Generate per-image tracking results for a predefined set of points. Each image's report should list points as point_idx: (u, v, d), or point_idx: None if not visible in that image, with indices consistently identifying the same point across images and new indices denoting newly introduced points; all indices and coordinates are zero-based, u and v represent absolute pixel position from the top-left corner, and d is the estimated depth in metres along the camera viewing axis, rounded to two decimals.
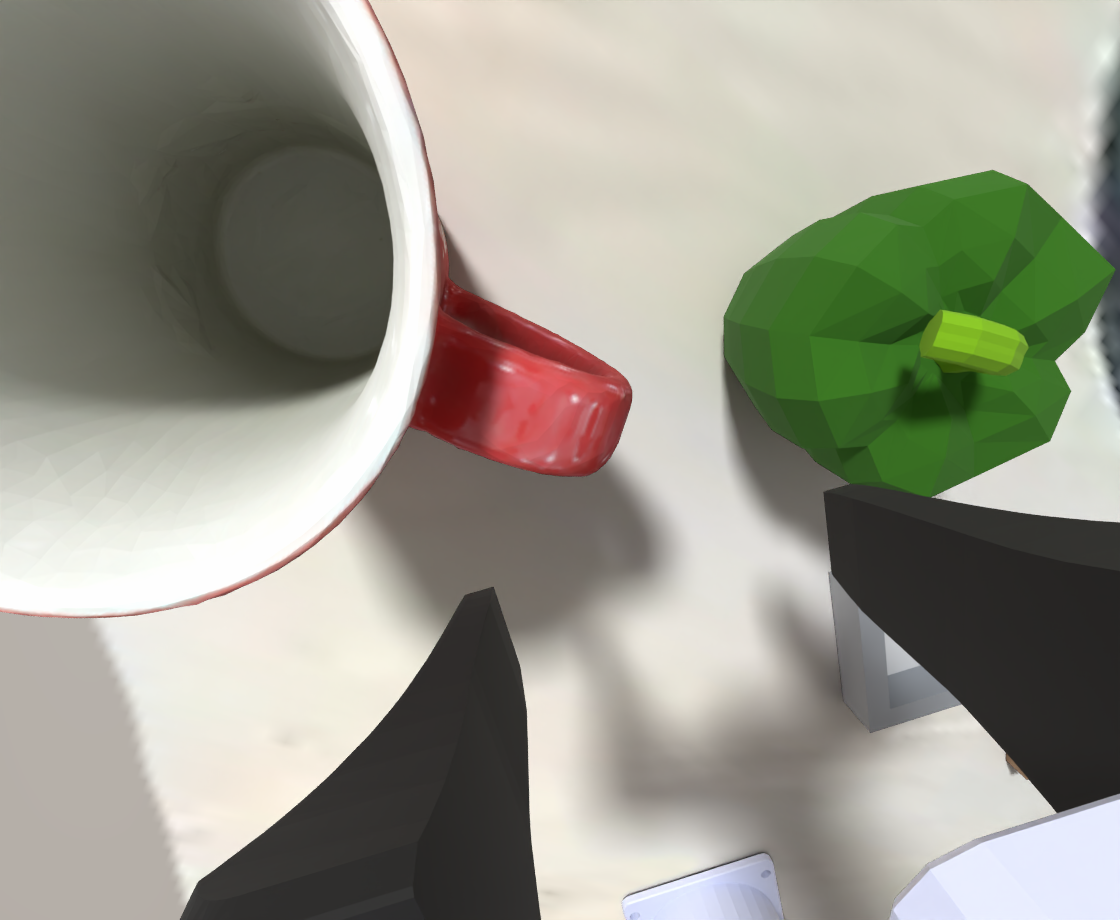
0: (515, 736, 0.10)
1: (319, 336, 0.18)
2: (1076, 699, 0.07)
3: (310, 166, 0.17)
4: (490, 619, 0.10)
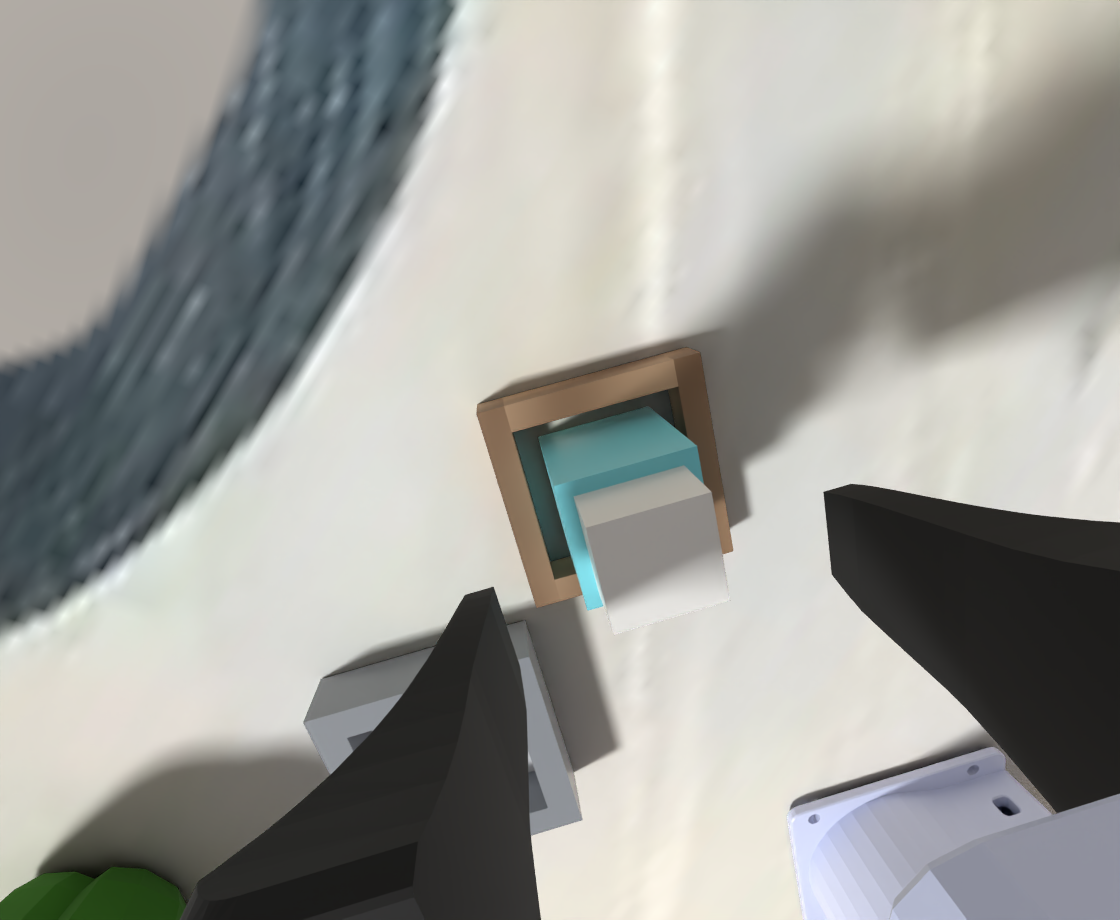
0: (515, 736, 0.10)
1: None
2: (1076, 699, 0.07)
3: None
4: (490, 619, 0.10)
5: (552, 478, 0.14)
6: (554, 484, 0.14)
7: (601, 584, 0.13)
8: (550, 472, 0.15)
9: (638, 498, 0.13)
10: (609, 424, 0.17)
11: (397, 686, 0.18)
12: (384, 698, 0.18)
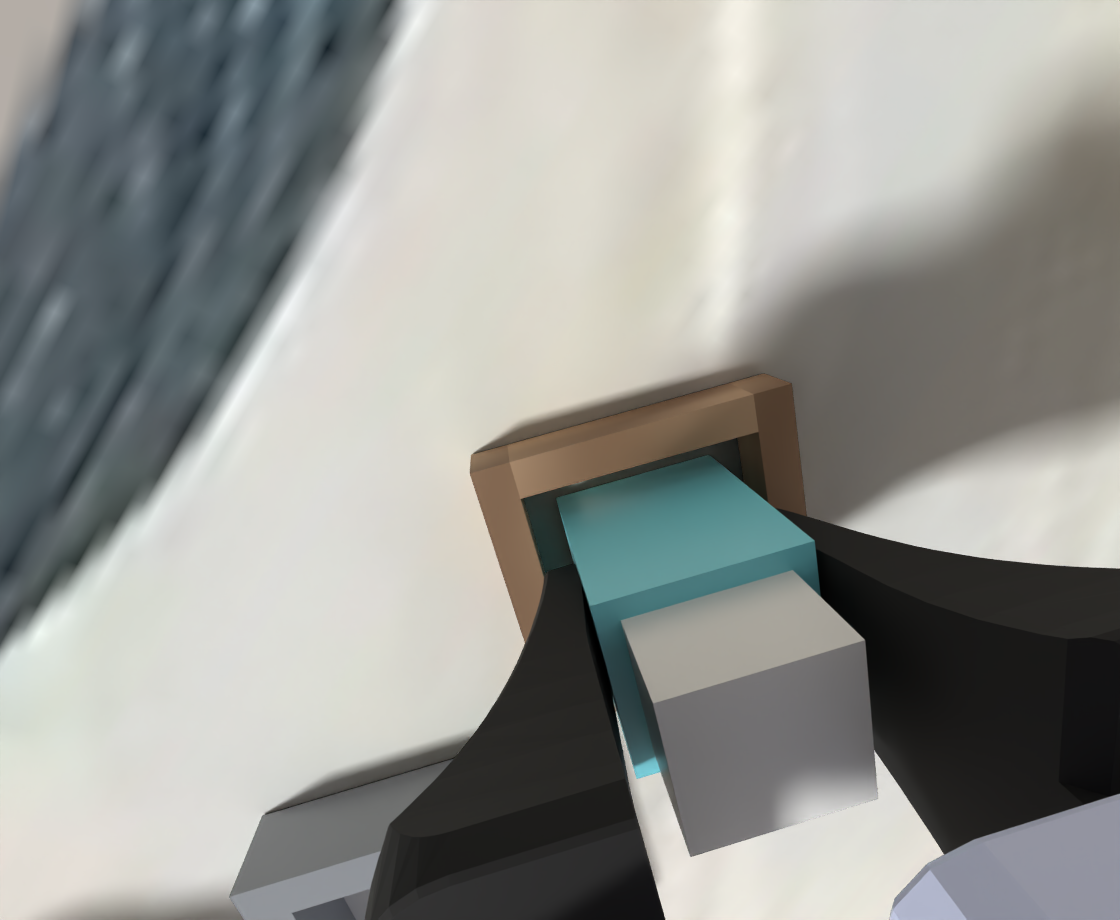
0: (611, 707, 0.10)
1: None
2: (946, 739, 0.07)
3: None
4: (583, 592, 0.10)
5: (586, 587, 0.09)
6: (591, 602, 0.09)
7: (674, 785, 0.08)
8: (581, 573, 0.10)
9: (733, 639, 0.08)
10: (657, 485, 0.12)
11: (361, 840, 0.13)
12: (342, 861, 0.13)
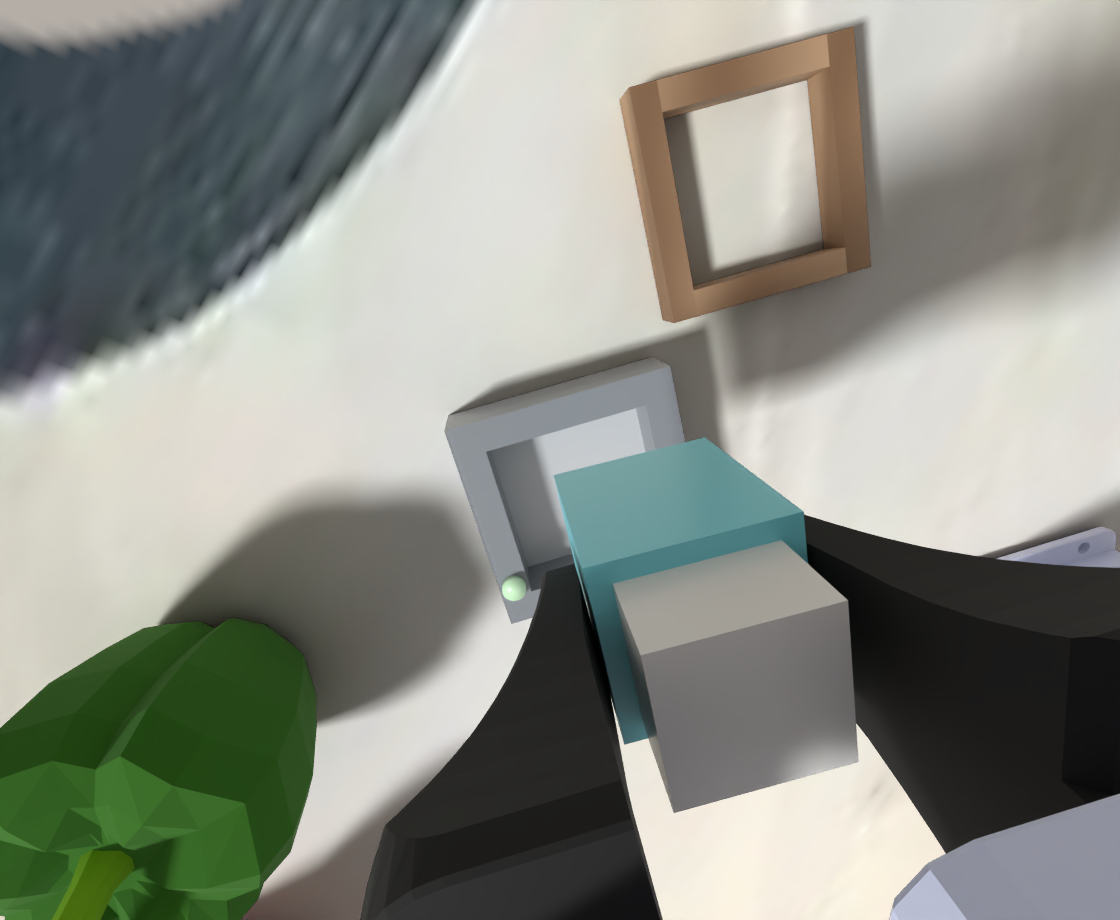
0: (609, 708, 0.10)
1: None
2: (948, 739, 0.07)
3: None
4: (581, 593, 0.10)
5: (580, 552, 0.09)
6: (584, 564, 0.09)
7: (660, 740, 0.08)
8: (576, 540, 0.10)
9: (721, 600, 0.08)
10: (654, 463, 0.12)
11: (535, 401, 0.18)
12: (525, 407, 0.18)
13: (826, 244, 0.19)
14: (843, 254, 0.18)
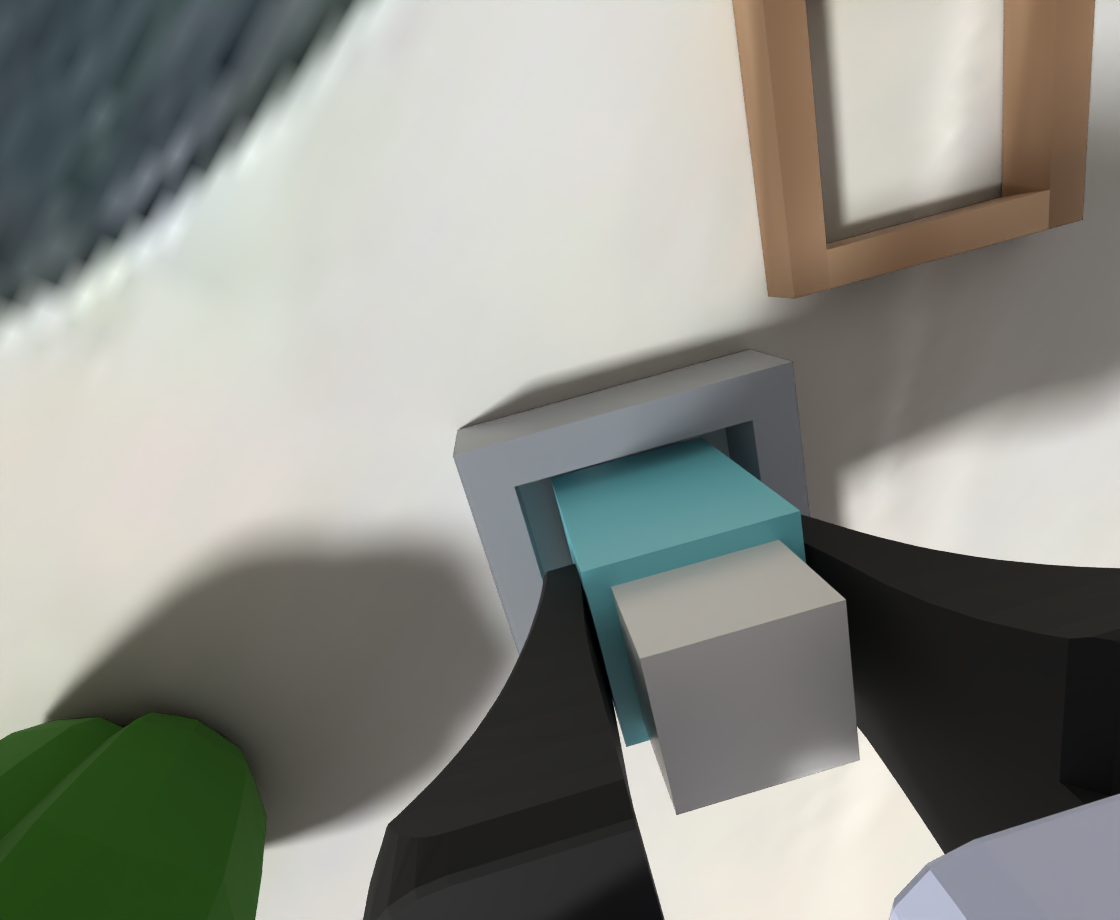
0: (610, 708, 0.10)
1: None
2: (946, 739, 0.07)
3: None
4: (582, 592, 0.10)
5: (577, 556, 0.09)
6: (582, 568, 0.09)
7: (661, 742, 0.08)
8: (573, 543, 0.10)
9: (719, 601, 0.08)
10: (650, 465, 0.12)
11: (588, 412, 0.12)
12: (575, 421, 0.12)
13: (1008, 189, 0.13)
14: (1046, 200, 0.12)
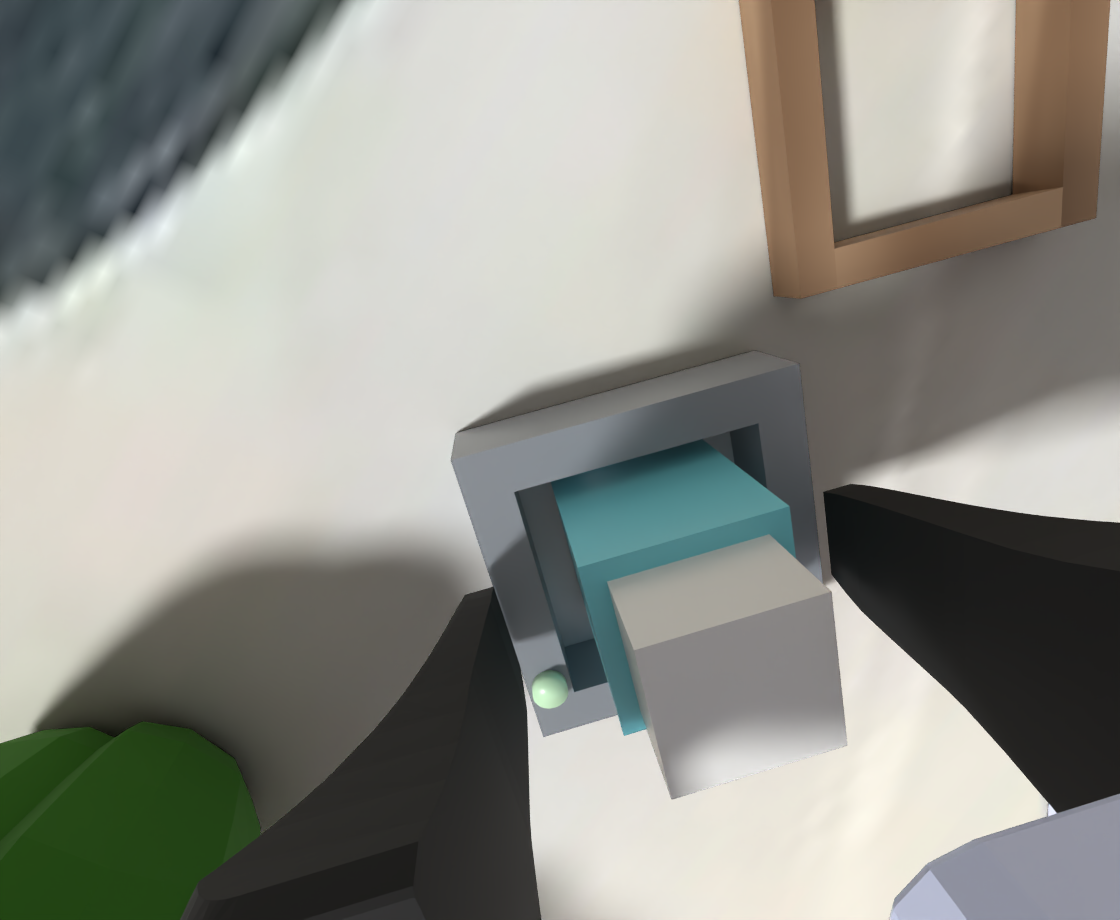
0: (515, 736, 0.10)
1: None
2: (1075, 699, 0.07)
3: None
4: (490, 619, 0.10)
5: (574, 552, 0.10)
6: (578, 564, 0.09)
7: (655, 730, 0.08)
8: (571, 540, 0.10)
9: (710, 594, 0.08)
10: (645, 461, 0.13)
11: (590, 415, 0.12)
12: (576, 425, 0.11)
13: (1019, 186, 0.13)
14: (1059, 198, 0.12)
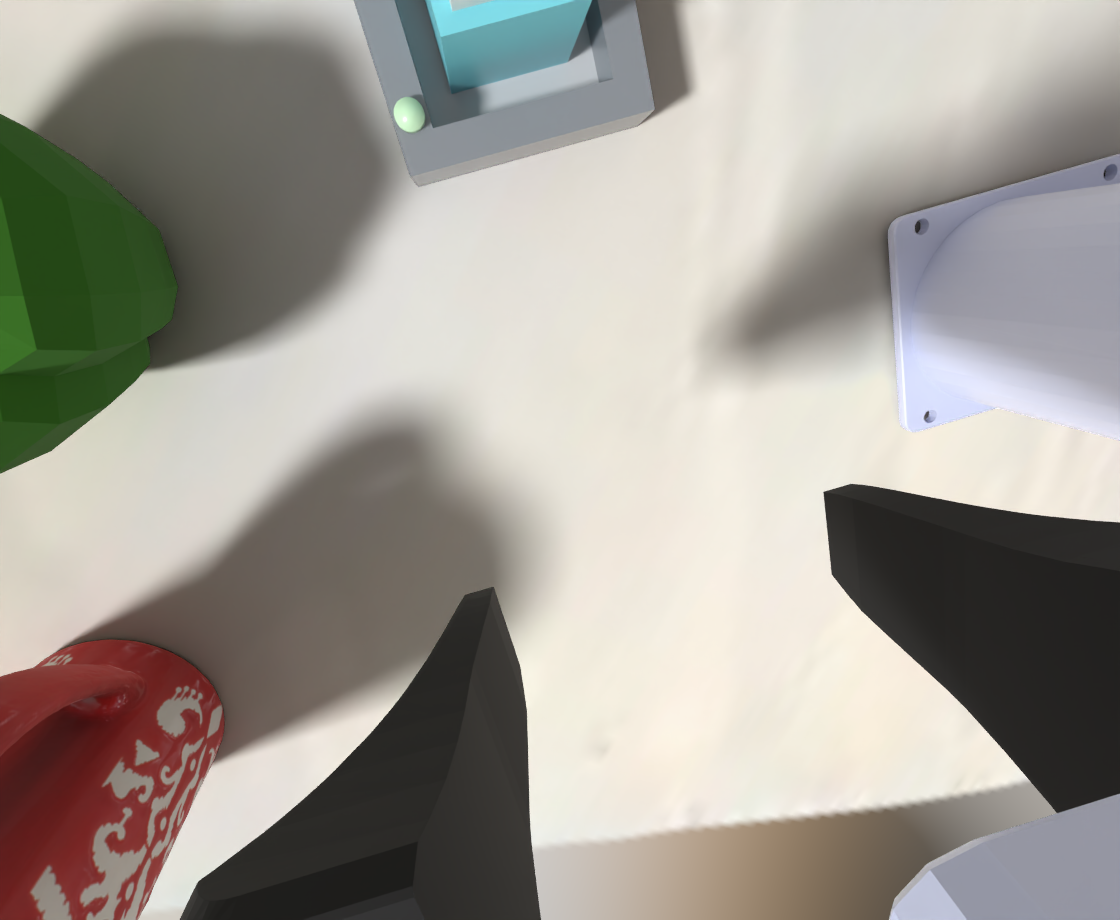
0: (515, 736, 0.10)
1: None
2: (1076, 699, 0.07)
3: None
4: (490, 619, 0.10)
5: None
6: None
7: None
8: None
9: None
10: None
11: None
12: None
13: None
14: None
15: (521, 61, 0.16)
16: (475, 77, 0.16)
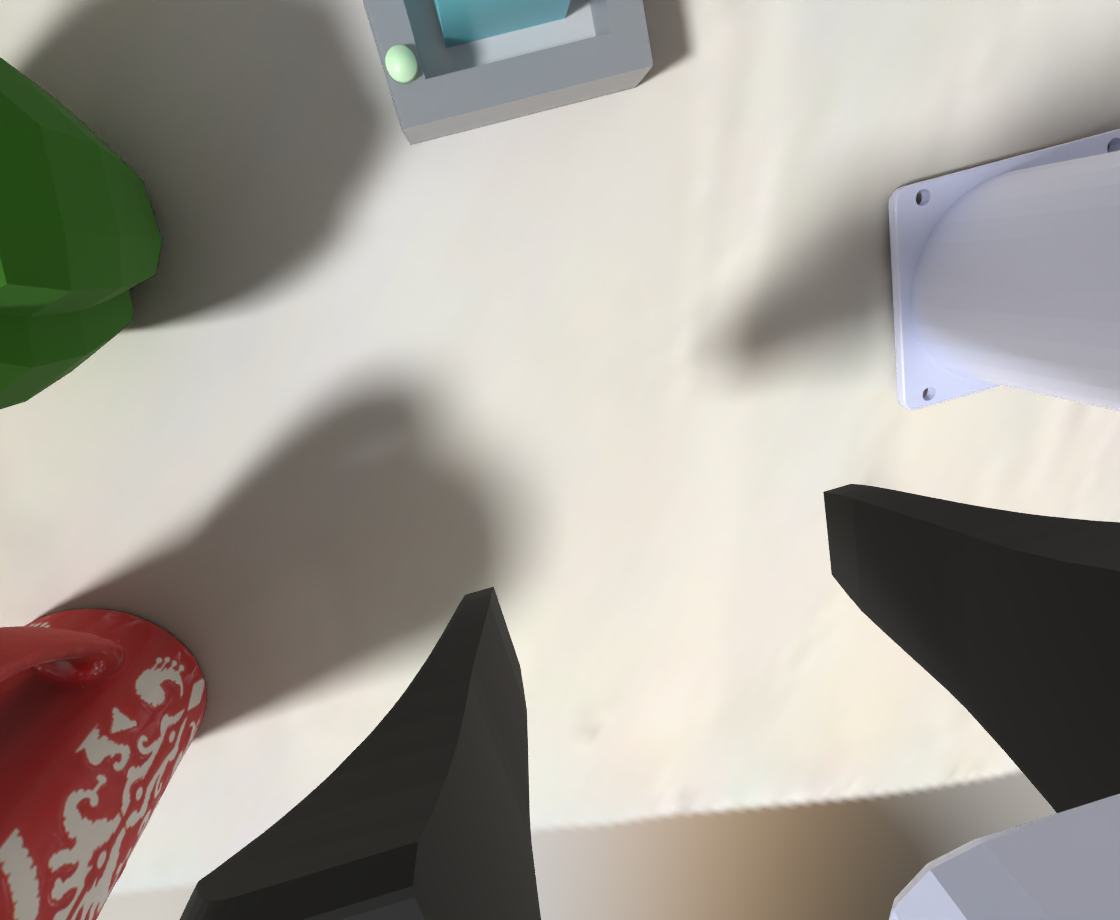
0: (515, 736, 0.10)
1: None
2: (1076, 699, 0.07)
3: None
4: (490, 619, 0.10)
5: None
6: None
7: None
8: None
9: None
10: None
11: None
12: None
13: None
14: None
15: (516, 12, 0.16)
16: (470, 29, 0.16)
